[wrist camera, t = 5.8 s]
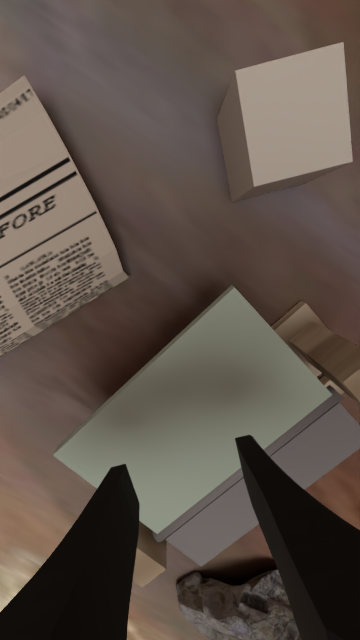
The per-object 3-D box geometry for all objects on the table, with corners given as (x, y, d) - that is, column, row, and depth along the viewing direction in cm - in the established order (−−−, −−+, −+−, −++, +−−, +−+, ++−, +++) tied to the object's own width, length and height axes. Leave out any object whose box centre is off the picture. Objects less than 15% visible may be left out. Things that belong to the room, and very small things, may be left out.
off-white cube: (294, 99, 17) (343, 42, 12) (303, 184, 18) (352, 161, 14) (216, 120, 17) (235, 70, 12) (231, 202, 18) (254, 186, 14)
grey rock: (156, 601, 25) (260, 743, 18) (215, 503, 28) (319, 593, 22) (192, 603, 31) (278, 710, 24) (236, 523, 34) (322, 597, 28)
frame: (359, 370, 22) (449, 428, 15) (177, 515, 25) (180, 622, 18) (300, 300, 20) (370, 329, 13) (113, 465, 23) (88, 559, 16)
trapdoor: (335, 398, 20) (378, 437, 16) (192, 511, 22) (198, 571, 18) (223, 274, 17) (239, 282, 13) (73, 415, 19) (48, 459, 15)
